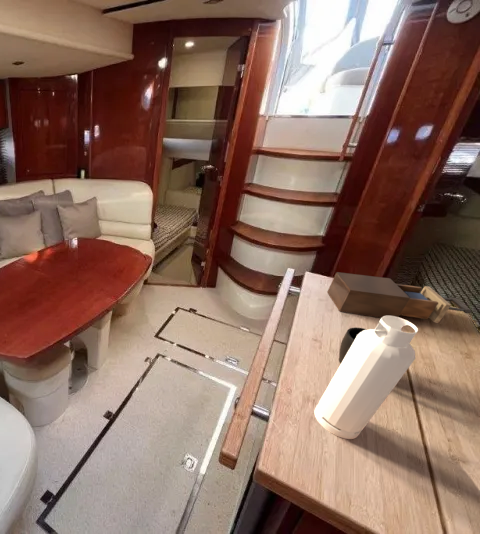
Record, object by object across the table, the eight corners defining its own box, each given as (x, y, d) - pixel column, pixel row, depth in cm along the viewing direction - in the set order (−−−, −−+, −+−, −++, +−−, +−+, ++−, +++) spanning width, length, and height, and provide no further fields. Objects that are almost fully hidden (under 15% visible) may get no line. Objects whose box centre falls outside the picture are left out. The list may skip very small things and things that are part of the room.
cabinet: (378, 299, 105) (390, 278, 101) (396, 320, 96) (410, 298, 92) (327, 292, 110) (336, 271, 105) (339, 311, 100) (350, 290, 96)
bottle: (367, 443, 63) (445, 343, 49) (322, 433, 65) (385, 335, 51) (348, 409, 70) (412, 313, 56) (308, 401, 72) (360, 307, 58)
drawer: (444, 306, 100) (456, 289, 96) (467, 327, 91) (481, 309, 88) (367, 296, 105) (376, 279, 102) (382, 314, 97) (392, 297, 94)
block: (413, 304, 99) (421, 293, 97) (422, 312, 96) (429, 301, 94) (397, 302, 101) (404, 291, 98) (404, 310, 97) (412, 298, 95)
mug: (348, 385, 75) (365, 358, 71) (327, 351, 85) (341, 325, 81) (387, 392, 73) (408, 364, 69) (361, 356, 83) (378, 329, 79)
